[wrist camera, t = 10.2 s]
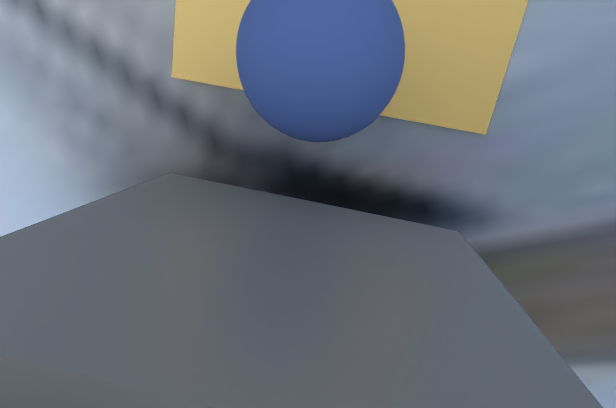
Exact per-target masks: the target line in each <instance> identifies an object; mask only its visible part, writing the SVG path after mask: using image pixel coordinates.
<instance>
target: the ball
mask: <svg viewBox="0 0 616 408" xmlns="http://www.w3.org/2000/svg"><path fill="white" fill-rule="evenodd" d="M236 60H237V69H238V74H239V78H240V81H241V84H242V87H243V89H244V92H245V94H246V96H247V98H248V99H249V101H250V103H251V104H252V106H253V107H254V109H255V110H256V111H257V112H258V114H259V115H260V116H261V117H262V118H263V119H264V120H265V121H266V122H268V123H269V124H270V125H271V126H273V127H274V128H276V129H277V130H279V131H280V132H282V133H284V134H286V135H288V136H291V137H294V138H297V139H300V140H305V141H311V142H328V141H334V140H339V139H342V138H345V137H348V136H350V135H353V134H355V133H357V132H359V131H360V130H362V129H364V128H365V127H367V126H368V125H369V124H371V123H372V122H373V121H374V120H375V119H376V118H377V117H378V116H379V115H380V114H381V113H382V112H383V111H384V109H385V108H386V107H387V105H388V104H389V102H390V101H391V99H392V97H393V95H394V94H395V92H396V90H397V87H398V85H399V82H400V79H401V76H402V72H403V67H404V60H405V39H404V31H403V27H402V23H401V19H400V16H399V14H398V11H397V9H396V7H395V5H394V3H393V1H392V0H250V2H249V4H248V5H247V7H246V9H245V11H244V14H243V16H242V19H241V22H240V25H239V29H238V34H237V41H236Z"/></svg>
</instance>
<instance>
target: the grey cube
mask: <svg viewBox="0 0 616 408" xmlns="http://www.w3.org/2000/svg"><path fill="white" fill-rule="evenodd" d="M0 408H603V407H602V406H601V404H600V403H599V402H598V401H597V400H596V398H595V397H594V396H593V395H592V393H591V392H590V391H589V390H588V389H587V387H586V386H585V385H584V384H583V382H582V381H581V380H580V379H579V377H578V376H577V375H576V374H575V373H574V371H573V370H572V369H571V368H570V366H569V365H568V364H567V363H566V362H565V360H564V359H563V358H562V357H561V355H560V354H559V353H558V352H557V350H556V349H555V348H554V347H553V346H552V344H551V343H550V342H549V341H548V339H547V338H546V337H545V336H544V335H543V333H542V332H541V331H540V330H539V328H538V327H537V326H536V325H535V323H534V322H533V321H532V320H531V319H530V317H529V316H528V315H527V314H526V312H525V311H524V310H523V309H522V308H521V306H520V305H519V304H518V303H517V301H516V300H515V299H514V298H513V296H512V295H511V294H510V293H509V292H508V290H507V289H506V288H505V287H504V285H503V284H502V283H501V282H500V281H499V279H498V278H497V277H496V276H495V274H494V273H493V272H492V271H491V269H490V268H489V267H488V266H487V265H486V263H485V262H484V261H483V260H482V258H481V257H480V256H479V255H478V254H477V252H476V251H475V250H474V249H473V247H472V246H471V245H470V244H469V242H468V241H467V240H466V239H465V238H464V236H463V235H462V234H461V233H460V231H455V230H450V229H445V228H440V227H435V226H430V225H425V224H420V223H416V222H411V221H406V220H401V219H396V218H391V217H386V216H381V215H376V214H371V213H366V212H361V211H356V210H352V209H347V208H342V207H337V206H332V205H327V204H322V203H317V202H312V201H307V200H302V199H297V198H292V197H288V196H283V195H278V194H273V193H268V192H263V191H258V190H253V189H248V188H243V187H238V186H233V185H228V184H224V183H219V182H214V181H209V180H204V179H199V178H194V177H189V176H184V175H179V174H174V173H168V174H165V175H162V176H160V177H157V178H155V179H152V180H149V181H147V182H144V183H141V184H139V185H136V186H133V187H131V188H128V189H126V190H123V191H120V192H118V193H115V194H112V195H110V196H107V197H104V198H102V199H99V200H97V201H94V202H91V203H89V204H86V205H83V206H81V207H78V208H75V209H73V210H70V211H68V212H65V213H62V214H60V215H57V216H54V217H52V218H49V219H46V220H44V221H41V222H39V223H36V224H33V225H31V226H28V227H25V228H23V229H20V230H17V231H15V232H12V233H10V234H7V235H4V236H2V237H0Z"/></svg>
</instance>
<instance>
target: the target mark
mask: <svg viewBox="0 0 616 408" xmlns="http://www.w3.org/2000/svg"><path fill="white" fill-rule="evenodd" d="M392 1H393V3H394V5H395V7H396V9H397V11H398V14H399V16H400V19H401V23H402V27H403V31H404V39H405V60H404V67H403V72H402V76H401V79H400V82H399V85H398V87H397V90H396V92H395V94H394V95H393V97H392V99H391V101H390V102H389V104H388V105H387V107H386V108H385V109H384V111H383V112H382V113H381V114H380V115H381V116H386V117H392V118H397V119H403V120H408V121H414V122H419V123H425V124H430V125H436V126H441V127H447V128H452V129H458V130H463V131H468V132H474V133H479V134H485V135H486V133H487V130H488V127H489V123H490V120H491V117H492V114H493V111H494V108H495V104H496V101H497V98H498V95H499V92H500V89H501V85H502V82H503V79H504V76H505V73H506V70H507V66H508V63H509V60H510V57H511V54H512V51H513V48H514V44H515V41H516V38H517V35H518V32H519V29H520V25H521V22H522V19H523V16H524V13H525V10H526V6H527V3H528V0H392ZM249 2H250V0H176V8H175V25H174V43H173V61H172V77H173V78H179V79H184V80H190V81H195V82H201V83H206V84H212V85H217V86H223V87H228V88H233V89H239V90H244V89H243V87H242V84H241V81H240V78H239V74H238V69H237V60H236V41H237V34H238V29H239V25H240V22H241V19H242V16H243V14H244V11H245V9H246V7H247V5H248V4H249Z"/></svg>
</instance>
